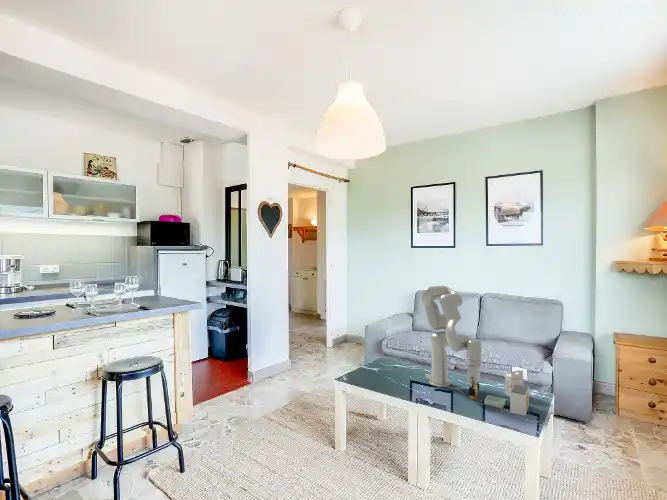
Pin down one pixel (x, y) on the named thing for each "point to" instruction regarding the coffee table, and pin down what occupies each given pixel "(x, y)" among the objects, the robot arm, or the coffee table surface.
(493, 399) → the tray
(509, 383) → the ink cartridge box
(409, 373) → the coffee table surface
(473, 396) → the roller
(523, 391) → the white box grey panel
